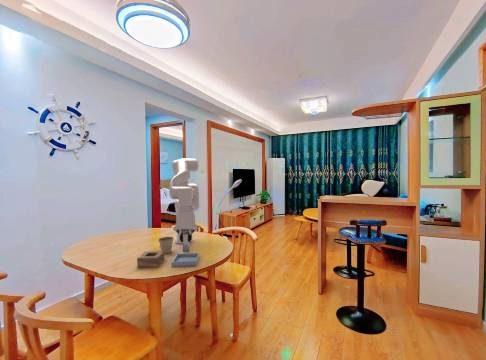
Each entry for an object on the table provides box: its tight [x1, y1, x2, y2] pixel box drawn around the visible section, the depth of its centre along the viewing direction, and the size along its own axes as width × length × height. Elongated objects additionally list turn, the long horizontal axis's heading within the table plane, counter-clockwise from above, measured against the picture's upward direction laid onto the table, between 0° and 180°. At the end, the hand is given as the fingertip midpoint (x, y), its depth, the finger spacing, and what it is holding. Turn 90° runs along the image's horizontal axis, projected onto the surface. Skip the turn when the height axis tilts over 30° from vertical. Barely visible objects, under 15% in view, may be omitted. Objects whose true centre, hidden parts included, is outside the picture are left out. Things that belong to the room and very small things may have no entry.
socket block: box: [136, 250, 165, 269], centre depth 127 cm, size 11×11×5 cm
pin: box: [181, 229, 191, 253], centre depth 129 cm, size 5×5×12 cm
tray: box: [171, 252, 200, 268], centre depth 129 cm, size 13×13×2 cm
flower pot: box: [157, 236, 175, 255], centre depth 145 cm, size 9×9×9 cm
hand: (185, 241), depth 129 cm, fingers closed on pin, 3 cm apart
